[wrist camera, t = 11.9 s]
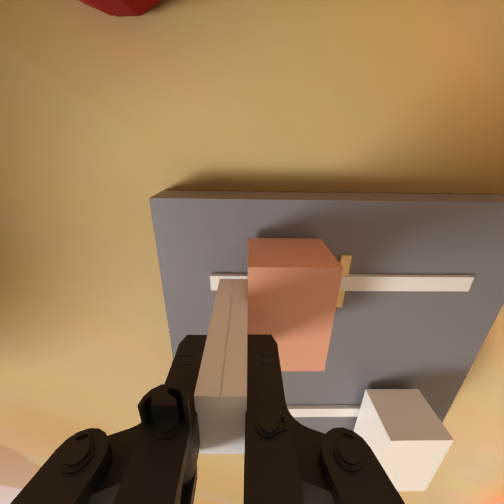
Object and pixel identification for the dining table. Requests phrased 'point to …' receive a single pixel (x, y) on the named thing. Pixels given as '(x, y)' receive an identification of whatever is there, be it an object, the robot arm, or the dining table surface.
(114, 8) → the plastic cup
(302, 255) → the fader
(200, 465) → the dining table surface
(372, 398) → the fader
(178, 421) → the robot arm
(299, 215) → the slider panel
